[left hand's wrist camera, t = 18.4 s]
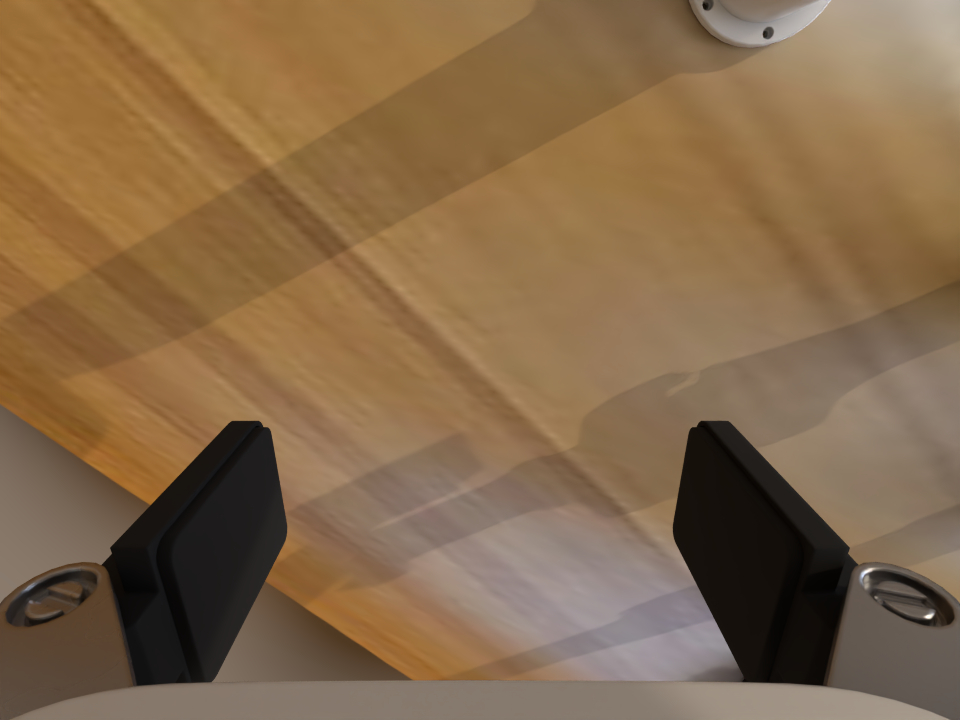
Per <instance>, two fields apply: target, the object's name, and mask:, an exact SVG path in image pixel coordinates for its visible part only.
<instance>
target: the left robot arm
mask: <svg viewBox="0 0 960 720" xmlns="http://www.w3.org/2000/svg"><path fill="white" fill-rule="evenodd" d="M830 1H831V0H689V2H690V5H691V8H692V10H693V12H694V14H695V15H696V17H697V19H698V20H699V22H700V23H701V25H702V26H703V27H704V28H705V29H706V30H707V31H708V32H709V33H710V34H711V35H713V36H714V37H716V38H718V39H719V40H721V41H722V42H724V43H727V44H730V45H733V46H736V47H747V48H754V47H762V46H767V45H770V44H773V43H776V42H779V41H781V40H784V39H786V38H788V37H790V36H792V35H794V34H796V33H797V32H799V31H800V30H802V29H803V28H805V27H806V26H808V25H809V24H810V23H811V22H812V21H813V20H814V19H815V18H816V17H817V16H818V15H819V14H820V13H821V12H822V11H823V10H824V8H825V7H826V6H827V5H828V3H829V2H830ZM702 4H705V5H706V10H704V9H703V6H702ZM763 32H764V33H765V37H764V38H763ZM286 536H287V522H286V516H285V510H284V504H283V499H282V493H281V487H280V481H279V475H278V469H277V464H276V458H275V452H274V446H273V440H272V435H271V431H270V429H269V428H268V427H263V425H262V423H261V422H260V421H231V422H230V423H229V424H228V425H227V426H226V427H225V428H224V429H223V430H222V431H221V432H220V433H219V434H218V435H217V436H216V437H215V438H214V440H213V441H212V442H211V443H210V444H209V445H208V446H207V447H206V448H205V449H204V450H203V451H202V452H201V453H200V454H199V455H198V456H197V457H196V458H195V459H194V460H193V462H192V463H191V464H190V465H189V466H188V467H187V468H186V469H185V470H184V471H183V472H182V473H181V474H180V475H179V476H178V477H177V478H176V479H175V480H174V481H173V482H172V484H171V485H170V486H169V487H168V488H167V489H166V490H165V491H164V492H163V493H162V494H161V495H160V496H159V497H158V498H157V499H156V500H155V501H154V502H153V503H152V505H151V506H150V507H149V508H148V509H147V510H146V511H145V512H144V513H143V514H142V515H141V516H140V517H139V518H138V519H137V520H136V521H135V522H134V523H133V524H132V525H131V527H130V528H129V529H128V530H127V531H126V532H125V533H124V534H123V535H122V536H121V537H120V538H119V539H118V540H117V541H116V542H115V543H114V544H113V545H112V546H111V548H110V549H111V552H112V554H111V556H110V557H109V558H108V559H107V560H106V561H105V562H104V563H103V564H102V565H99V564H97V563H90V562H80V563H73V564H67V565H64V566H61V567H58V568H54V569H51V570H49V571H47V572H45V573H42V574H40V575H38V576H36V577H34V578H32V579H30V580H29V581H27V582H26V583H24V584H22V585H21V586H19V587H17V588H16V589H15V590H14V591H13V592H12V593H10V594H9V595H8V596H7V597H6V598H4V600H3V601H2V602H1V603H0V720H960V603H959V602H958V601H957V600H956V598H954V597H953V596H952V595H951V594H950V593H948V592H947V591H946V590H945V589H944V588H943V587H941V586H939V585H938V584H936V583H934V582H933V581H931V580H930V579H928V578H926V577H924V576H922V575H920V574H918V573H915V572H913V571H911V570H909V569H906V568H902V567H899V566H896V565H893V564H887V563H880V562H870V563H863V564H861V565H858V564H857V563H856V562H855V561H854V560H853V559H852V558H851V557H850V555H849V554H848V552H849V549H850V547H849V546H848V545H847V544H846V543H845V542H844V541H843V540H842V539H841V538H840V537H839V536H838V535H837V534H836V533H835V532H834V531H833V530H832V529H831V528H830V527H829V525H828V524H827V523H826V522H825V521H824V520H823V519H822V518H821V517H820V516H819V515H818V514H817V513H816V512H815V511H814V510H813V509H812V508H811V507H810V506H809V505H808V503H807V502H806V501H805V500H804V499H803V498H802V497H801V496H800V495H799V494H798V493H797V492H796V491H795V490H794V489H793V488H792V487H791V486H790V485H789V484H788V482H787V481H786V480H785V479H784V478H783V477H782V476H781V475H780V474H779V473H778V472H777V471H776V470H775V469H774V468H773V467H772V466H771V465H770V464H769V463H768V462H767V460H766V459H765V458H764V457H763V456H762V455H761V454H760V453H759V452H758V451H757V450H756V449H755V448H754V447H753V446H752V445H751V444H750V443H749V442H748V441H747V440H746V438H745V437H744V436H743V435H742V434H741V433H740V432H739V431H738V430H737V429H736V428H735V427H734V426H733V425H732V424H731V423H730V422H729V421H700V422H699V423H698V425H697V427H692V428H691V429H690V431H689V435H688V440H687V446H686V452H685V458H684V464H683V469H682V475H681V481H680V487H679V493H678V499H677V504H676V510H675V516H674V522H673V536H674V540H675V542H676V545H677V547H678V549H679V550H680V552H681V554H682V556H683V558H684V560H685V562H686V564H687V566H688V568H689V570H690V572H691V574H692V576H693V578H694V580H695V582H696V584H697V586H698V588H699V590H700V592H701V594H702V595H703V597H704V599H705V601H706V603H707V605H708V607H709V609H710V611H711V613H712V615H713V617H714V619H715V621H716V623H717V625H718V627H719V629H720V631H721V633H722V635H723V637H724V639H725V640H726V642H727V644H728V646H729V648H730V650H731V652H732V654H733V656H734V658H735V660H736V662H737V664H738V666H739V668H740V670H741V672H742V674H743V676H744V677H745V679H746V680H747V681H748V682H684V681H510V680H450V681H277V682H212V681H213V680H214V679H215V677H216V675H217V674H218V672H219V670H220V668H221V666H222V664H223V662H224V660H225V658H226V656H227V654H228V652H229V650H230V648H231V646H232V644H233V642H234V640H235V638H236V637H237V635H238V633H239V631H240V629H241V627H242V625H243V623H244V621H245V619H246V617H247V615H248V613H249V611H250V609H251V607H252V605H253V603H254V601H255V599H256V597H257V595H258V594H259V592H260V589H261V588H262V586H263V584H264V582H265V580H266V578H267V576H268V574H269V572H270V570H271V568H272V566H273V564H274V562H275V560H276V558H277V556H278V554H279V552H280V550H281V549H282V547H283V545H284V542H285V540H286Z"/></svg>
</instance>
